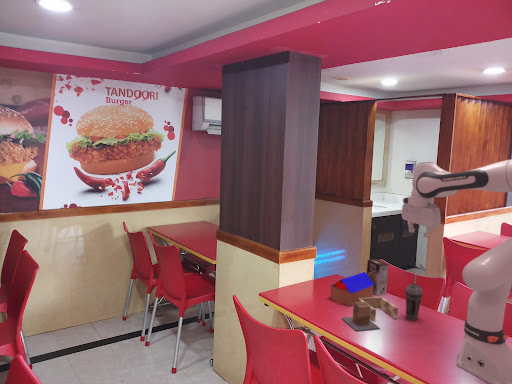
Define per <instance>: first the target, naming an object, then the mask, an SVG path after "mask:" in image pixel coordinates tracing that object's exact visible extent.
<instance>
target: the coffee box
mask: <svg viewBox="0 0 512 384" xmlns="http://www.w3.org/2000/svg"><path fill="white" fill-rule="evenodd" d="M366 264H367V265H366V266H367V267H366V274H367V275H368V277H369V278H370V279H371V281H372V282H373V283H374V286H373V295H375V296H384V295H386V294H387V284H388V276H389V275H388V274H389V273H388V272H389V266H390V265H389V264H390V263H387V262H385V261H383V260H381V259H378V258H377V259H376V258H375V259H374V258H372V259H367V263H366Z"/></svg>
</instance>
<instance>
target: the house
mask: <svg viewBox="0 0 512 384" xmlns="http://www.w3.org/2000/svg"><path fill="white" fill-rule="evenodd" d="M373 286H374V283H373V282H372V281H371V279H370V278H369V277H368V275H367V272H366V271H363V272H359V273H357V274H354V275H350V276H348V277H345V278H342V279H340V280H338V281H336V282H335V283H333V284H332V285H330V300H332V301H334V302H336V303H340V304H342V305H345V306H348V307H353V306H354V303H356V302H358V298H368V297H374V294H373Z"/></svg>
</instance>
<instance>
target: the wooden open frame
mask: <svg viewBox="0 0 512 384" xmlns="http://www.w3.org/2000/svg"><path fill="white" fill-rule="evenodd" d="M358 302H365V303H366V304H368V305H369V306H371V307H370V320H371V321H372V322H375V321H376V314H377V309H380V310H382V311H383V312H385V313H386V314H387V315H389V316H390V317H391V318H393V319H394V320H398V314H399V308H398V306H396V305H394V304H393V303H391V302H389V300H387V299H385V298H384V297H382V296H373V297H368V298H358Z"/></svg>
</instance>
